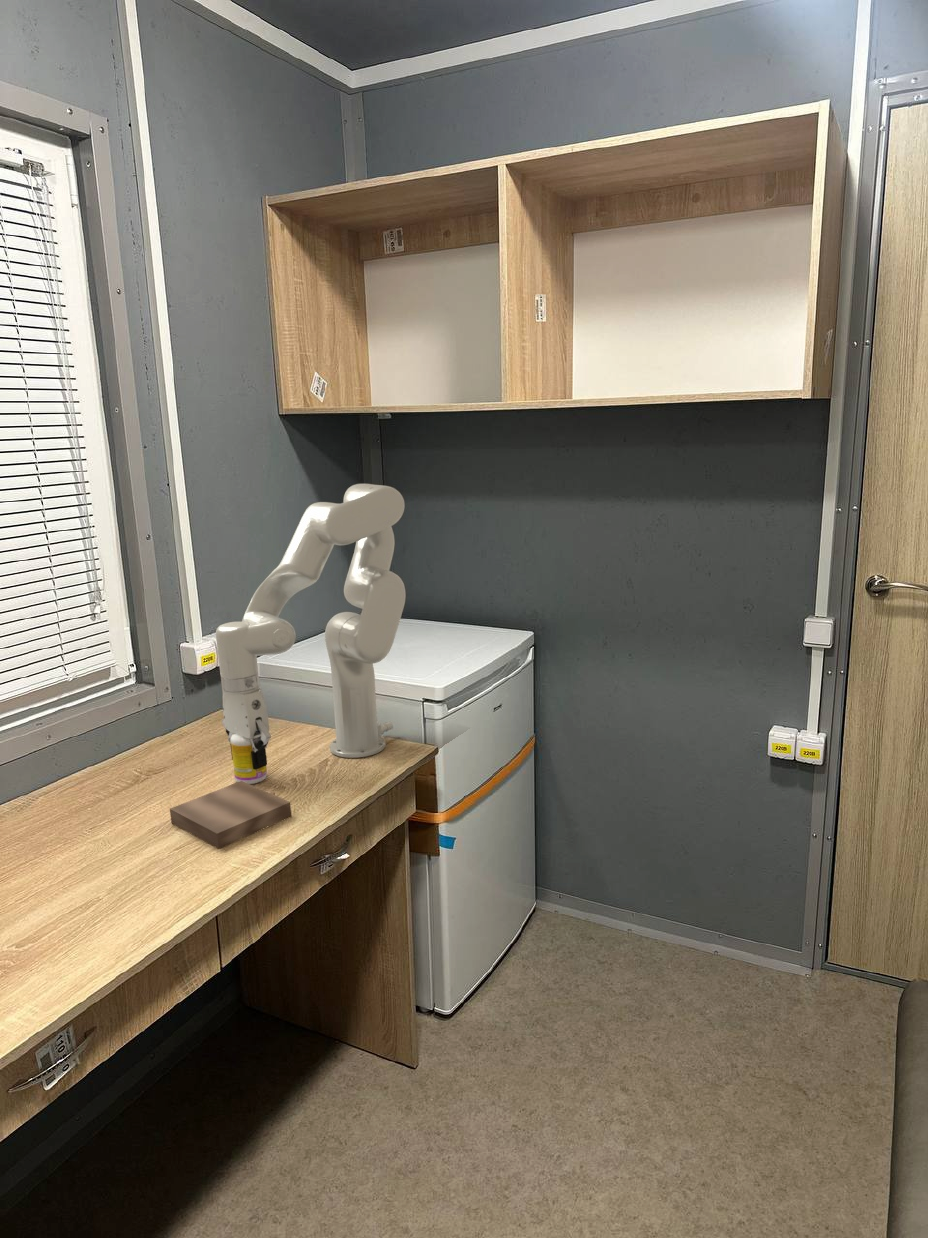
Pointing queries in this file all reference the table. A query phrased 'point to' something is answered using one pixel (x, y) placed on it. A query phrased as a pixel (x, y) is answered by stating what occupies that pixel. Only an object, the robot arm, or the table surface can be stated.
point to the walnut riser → (230, 813)
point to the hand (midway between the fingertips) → (249, 762)
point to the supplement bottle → (245, 760)
